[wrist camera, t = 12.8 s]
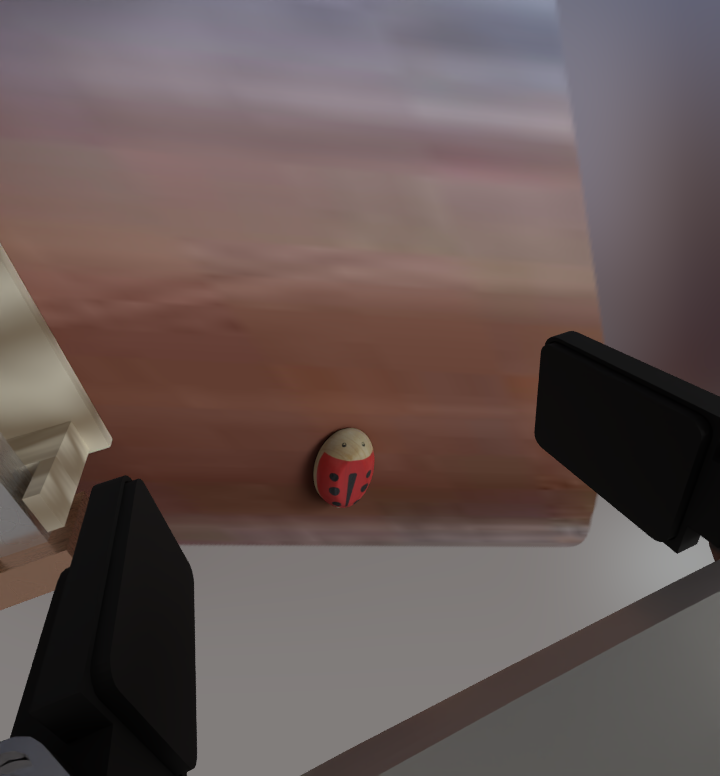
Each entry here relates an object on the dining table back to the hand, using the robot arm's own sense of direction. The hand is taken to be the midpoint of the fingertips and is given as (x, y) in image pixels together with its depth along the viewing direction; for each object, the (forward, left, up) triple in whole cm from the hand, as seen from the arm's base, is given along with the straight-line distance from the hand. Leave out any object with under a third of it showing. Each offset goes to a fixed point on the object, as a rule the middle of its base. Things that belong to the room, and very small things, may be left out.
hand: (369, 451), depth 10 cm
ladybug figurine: (+25, +4, -29) cm, 38 cm away
